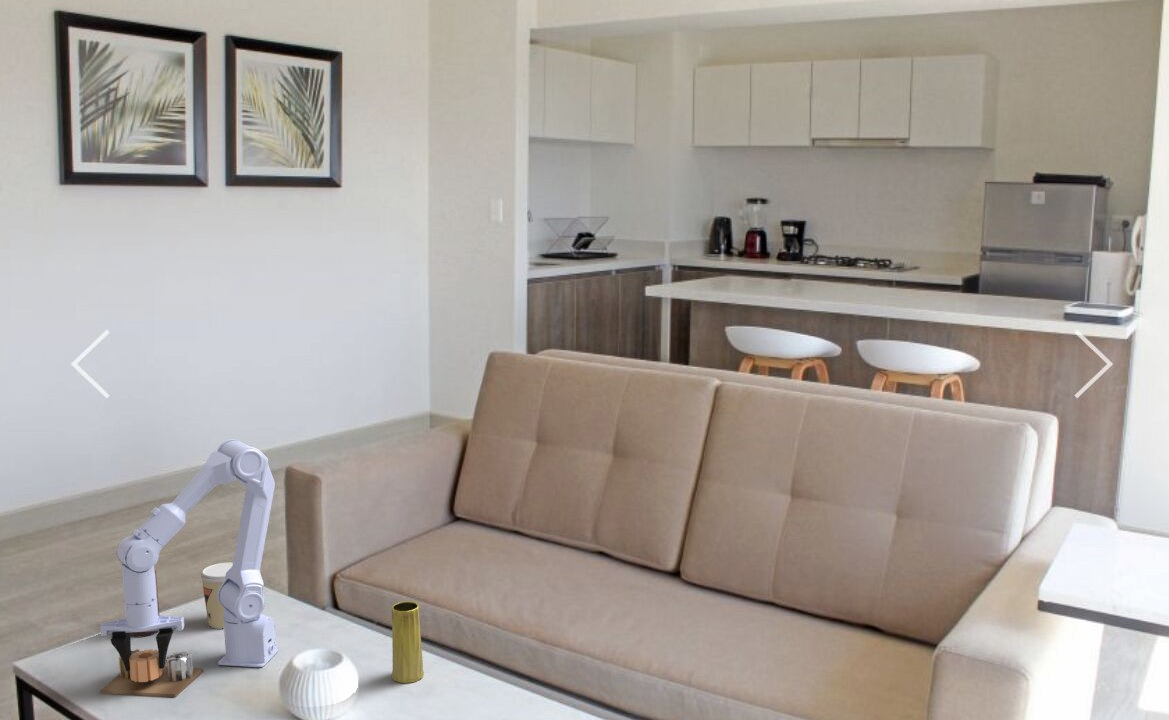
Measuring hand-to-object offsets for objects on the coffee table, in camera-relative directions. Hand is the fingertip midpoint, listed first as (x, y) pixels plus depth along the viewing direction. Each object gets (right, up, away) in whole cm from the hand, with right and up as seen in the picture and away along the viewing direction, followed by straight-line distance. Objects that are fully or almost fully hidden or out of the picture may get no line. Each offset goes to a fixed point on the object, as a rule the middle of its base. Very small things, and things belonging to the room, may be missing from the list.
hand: (145, 667), depth 204 cm
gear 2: (+5, -3, +4) cm, 7 cm away
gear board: (0, -4, +3) cm, 4 cm away
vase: (+49, -3, +4) cm, 49 cm away
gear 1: (-4, -3, +5) cm, 7 cm away
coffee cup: (+5, +1, +31) cm, 31 cm away
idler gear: (0, -2, 0) cm, 2 cm away
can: (-11, 0, +26) cm, 28 cm away
